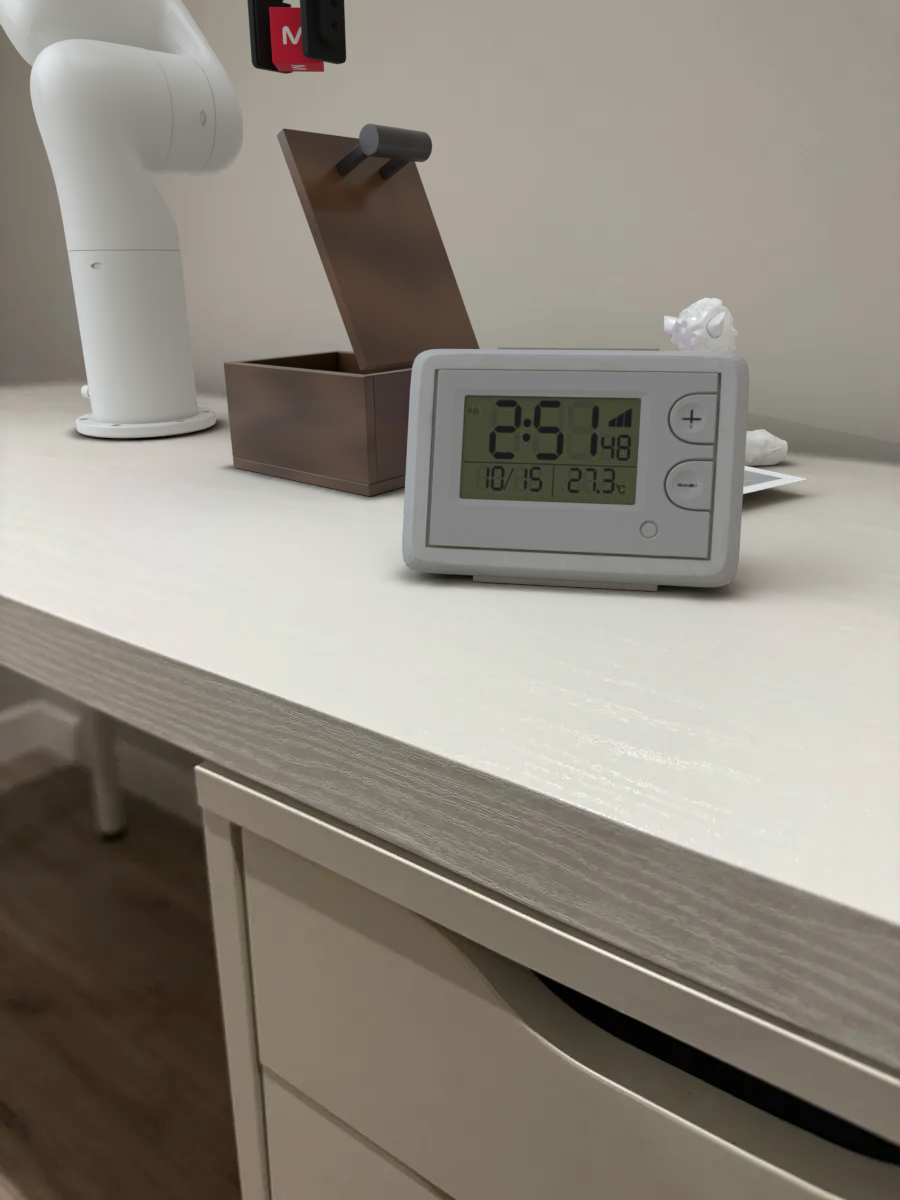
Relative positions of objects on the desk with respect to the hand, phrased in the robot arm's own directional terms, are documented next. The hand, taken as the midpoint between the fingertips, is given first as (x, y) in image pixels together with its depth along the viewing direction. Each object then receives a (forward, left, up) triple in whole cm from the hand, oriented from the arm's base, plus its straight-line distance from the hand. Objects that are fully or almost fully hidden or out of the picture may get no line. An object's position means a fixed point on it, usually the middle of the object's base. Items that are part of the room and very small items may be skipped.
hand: (298, 62), depth 57 cm
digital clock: (+27, -9, -27) cm, 39 cm away
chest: (+2, +2, -27) cm, 27 cm away
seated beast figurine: (+22, +20, -27) cm, 40 cm away
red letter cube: (0, 0, -1) cm, 1 cm away
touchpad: (+26, +8, -27) cm, 38 cm away
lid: (+5, +2, -12) cm, 13 cm away
